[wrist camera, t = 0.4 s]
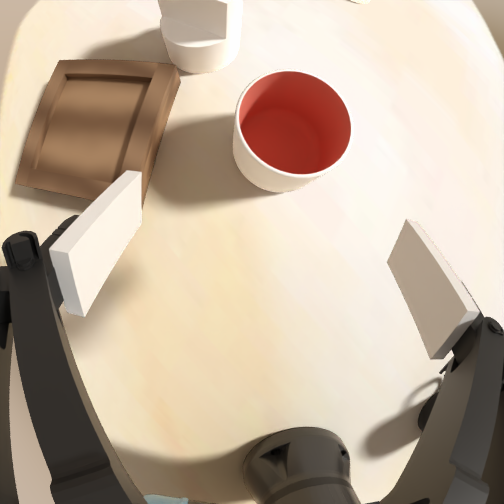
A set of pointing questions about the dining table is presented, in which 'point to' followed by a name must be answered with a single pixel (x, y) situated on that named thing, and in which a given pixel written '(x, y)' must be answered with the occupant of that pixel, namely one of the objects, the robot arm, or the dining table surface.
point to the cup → (290, 130)
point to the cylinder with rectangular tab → (201, 33)
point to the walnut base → (98, 125)
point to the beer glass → (361, 1)
